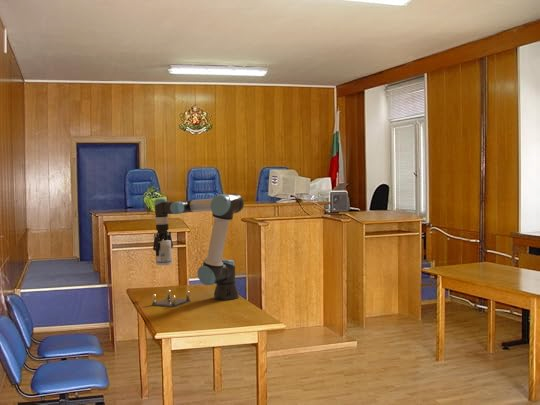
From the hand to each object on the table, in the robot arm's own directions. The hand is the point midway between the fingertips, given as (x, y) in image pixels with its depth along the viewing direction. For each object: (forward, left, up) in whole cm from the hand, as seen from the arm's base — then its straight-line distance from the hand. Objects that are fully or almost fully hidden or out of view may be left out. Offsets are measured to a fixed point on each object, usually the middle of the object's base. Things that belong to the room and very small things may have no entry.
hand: (164, 260), depth 376 cm
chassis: (-15, +14, -23) cm, 31 cm away
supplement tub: (0, 0, -3) cm, 3 cm away
